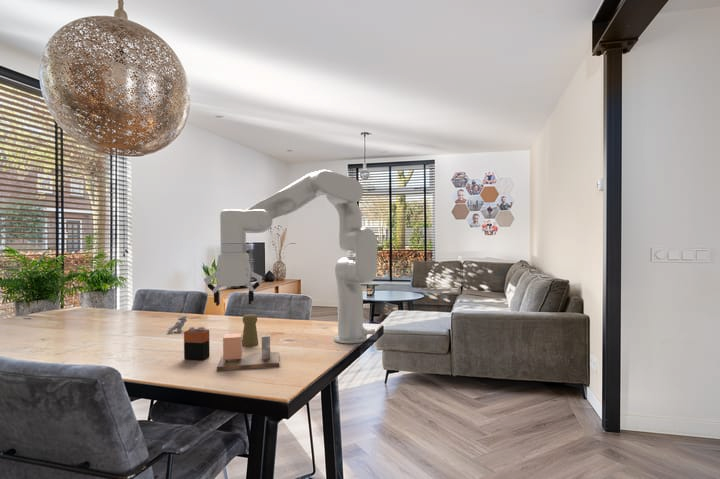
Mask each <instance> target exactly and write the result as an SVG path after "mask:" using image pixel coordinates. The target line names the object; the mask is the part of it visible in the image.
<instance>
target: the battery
mask: <svg viewBox="0 0 720 479" xmlns="http://www.w3.org/2000/svg"><path fill="white" fill-rule="evenodd" d="M210 351H211V350H210V329H206V328H205V327H203V326H200V327H198V328H195V327H193V326H192V327H189V329H187V330H184V332H183V352H184V353H183V359H184V360H187V361H204V360H206V359H208V358H210V357H211V356H210V355H211V354H210Z"/></svg>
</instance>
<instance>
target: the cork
mask: <svg viewBox="0 0 720 479" xmlns="http://www.w3.org/2000/svg"><path fill="white" fill-rule="evenodd" d="M257 322H258V316H257V314H253V313H248V314H244V315H243V317H242V323H243V332H242V347H245V348H246V347H248V348H249V347H256V346H258V345H259V337H258V330H257V324H256V323H257Z"/></svg>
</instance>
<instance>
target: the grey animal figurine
mask: <svg viewBox="0 0 720 479" xmlns="http://www.w3.org/2000/svg"><path fill="white" fill-rule="evenodd" d="M177 320H178V321H176V322H175V323H174V325H173V326H171V327H169V328H168V330H167V333H168V334H171V333H172V332H174V331H175V330H180V331H182V328H183V327H184V326H185V323H186V322H187V320H188V319H187V316H186V315H185V316H179V317H178V318H177Z"/></svg>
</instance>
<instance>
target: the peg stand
mask: <svg viewBox="0 0 720 479" xmlns="http://www.w3.org/2000/svg"><path fill="white" fill-rule="evenodd" d="M264 368H265V369H266V368H267V369H268V368H280V352H279V351H274V352H271V334H261V352H257V353H242V357H241V359H229V360H223V355H221V356H220V359H219V360H218V363H217V366H216V372H222V371H223V372H224V371H236V370H237V371H238V370H252V369H264Z"/></svg>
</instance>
